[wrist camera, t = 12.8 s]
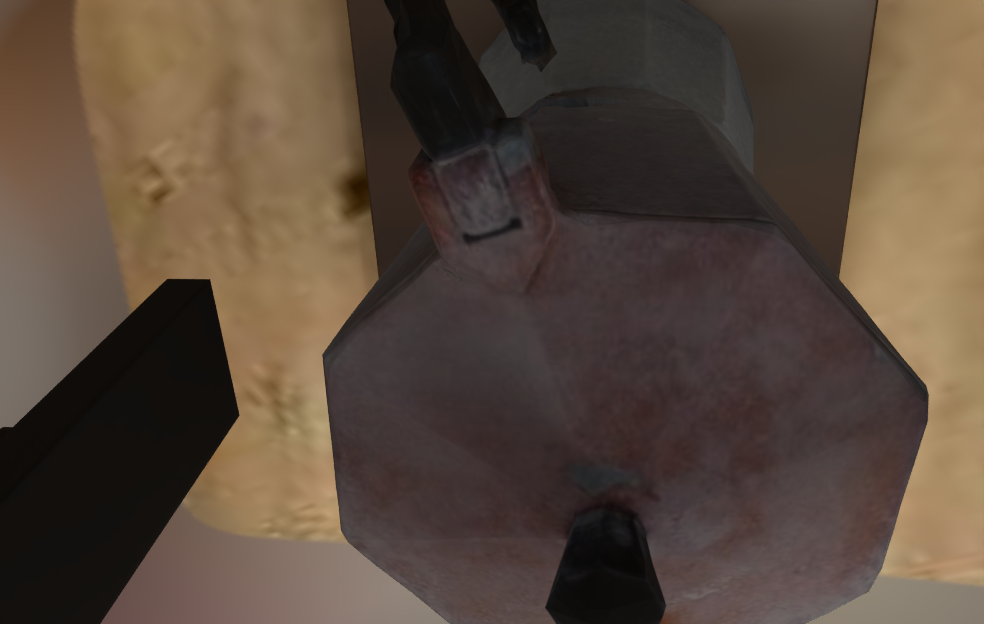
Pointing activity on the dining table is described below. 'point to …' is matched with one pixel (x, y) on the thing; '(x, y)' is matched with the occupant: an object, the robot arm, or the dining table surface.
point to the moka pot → (609, 344)
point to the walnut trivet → (765, 72)
